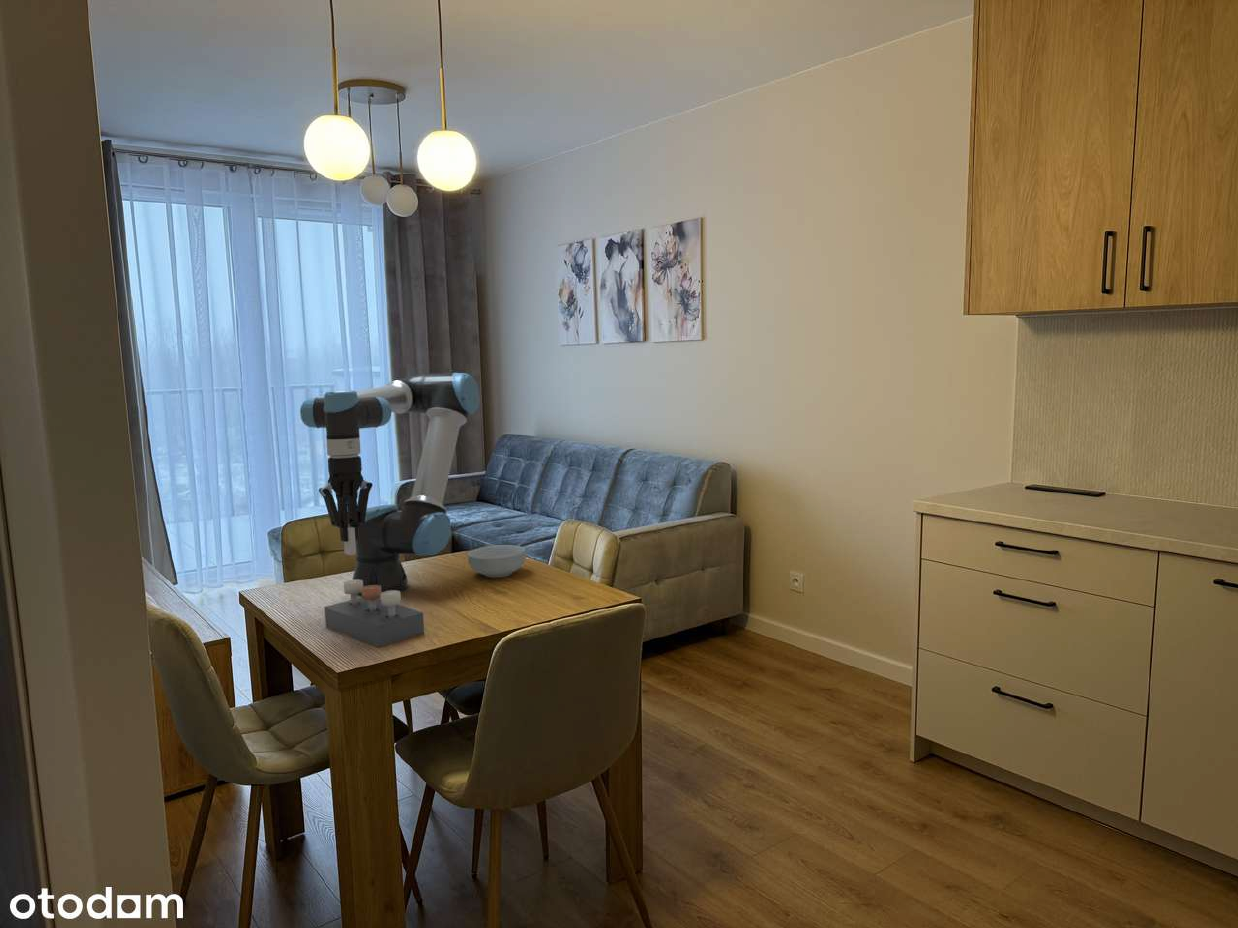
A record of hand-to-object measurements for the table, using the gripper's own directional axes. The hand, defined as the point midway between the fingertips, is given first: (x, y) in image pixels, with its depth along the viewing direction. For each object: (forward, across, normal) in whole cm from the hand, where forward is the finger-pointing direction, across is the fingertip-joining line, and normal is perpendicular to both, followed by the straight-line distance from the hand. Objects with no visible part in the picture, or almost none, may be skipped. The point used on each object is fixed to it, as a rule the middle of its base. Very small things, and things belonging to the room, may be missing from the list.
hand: (350, 553), depth 196 cm
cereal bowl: (+17, +52, +8) cm, 55 cm away
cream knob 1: (+14, 0, 0) cm, 14 cm away
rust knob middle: (+14, 0, -8) cm, 16 cm away
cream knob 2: (+14, 0, -16) cm, 21 cm away
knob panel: (+17, 0, -8) cm, 19 cm away
